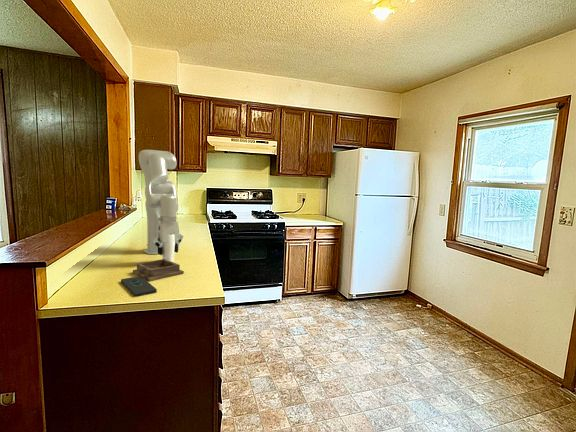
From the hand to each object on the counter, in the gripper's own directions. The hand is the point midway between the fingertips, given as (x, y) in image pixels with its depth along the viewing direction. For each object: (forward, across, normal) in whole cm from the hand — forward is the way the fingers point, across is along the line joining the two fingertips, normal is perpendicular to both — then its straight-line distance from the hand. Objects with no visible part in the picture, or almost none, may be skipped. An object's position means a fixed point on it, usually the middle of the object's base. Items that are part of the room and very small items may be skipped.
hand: (168, 253), depth 158 cm
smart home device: (+6, -26, -24) cm, 36 cm away
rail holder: (+5, -12, -13) cm, 18 cm away
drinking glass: (+5, 0, 0) cm, 5 cm away
